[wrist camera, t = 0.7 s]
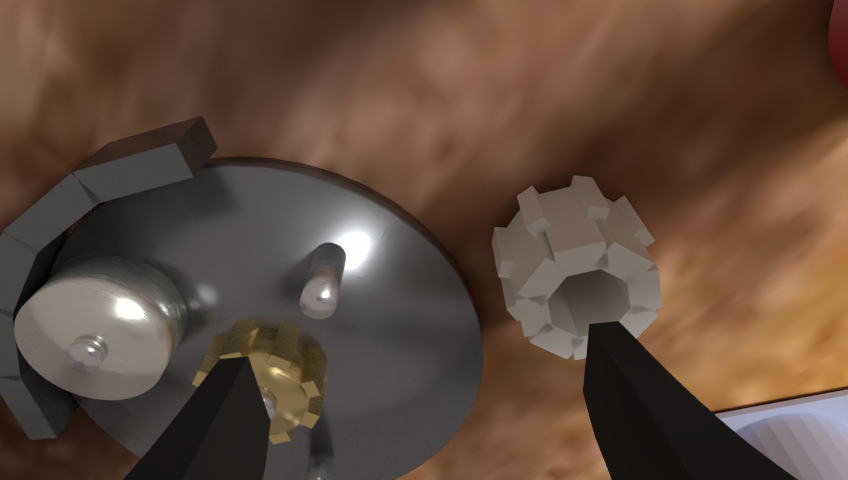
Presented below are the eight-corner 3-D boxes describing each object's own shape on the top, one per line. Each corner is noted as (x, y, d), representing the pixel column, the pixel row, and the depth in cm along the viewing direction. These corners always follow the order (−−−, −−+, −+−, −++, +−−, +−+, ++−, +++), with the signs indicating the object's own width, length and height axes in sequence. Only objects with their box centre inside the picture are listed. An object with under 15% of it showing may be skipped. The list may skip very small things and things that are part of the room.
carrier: (517, 446, 29) (530, 521, 25) (158, 513, 31) (125, 589, 28) (402, 57, 19) (397, 94, 16) (-99, 202, 22) (-197, 261, 18)
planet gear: (642, 281, 24) (678, 348, 20) (509, 311, 24) (523, 379, 21) (628, 161, 21) (668, 214, 18) (480, 198, 22) (490, 256, 18)
